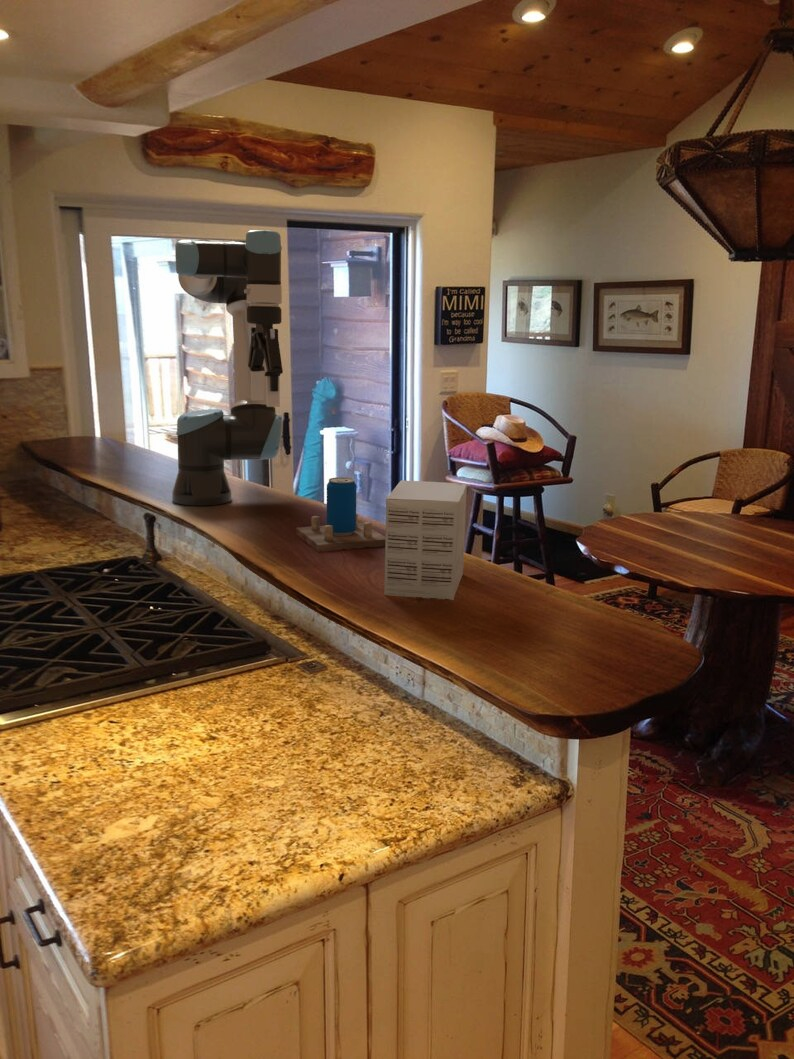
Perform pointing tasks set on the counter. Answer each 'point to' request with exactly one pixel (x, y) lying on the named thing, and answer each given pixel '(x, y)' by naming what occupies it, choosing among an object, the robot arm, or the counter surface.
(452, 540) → the supplement box
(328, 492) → the beverage can
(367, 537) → the peg stand
